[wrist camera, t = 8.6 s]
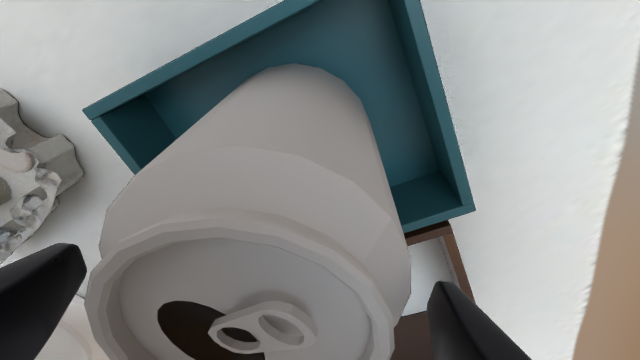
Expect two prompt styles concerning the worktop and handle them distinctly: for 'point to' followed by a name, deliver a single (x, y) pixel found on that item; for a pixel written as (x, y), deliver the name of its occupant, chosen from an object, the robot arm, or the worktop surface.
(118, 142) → the teal tote
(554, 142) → the worktop surface
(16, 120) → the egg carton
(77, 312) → the decorative vase
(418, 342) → the walnut frame
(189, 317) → the can
